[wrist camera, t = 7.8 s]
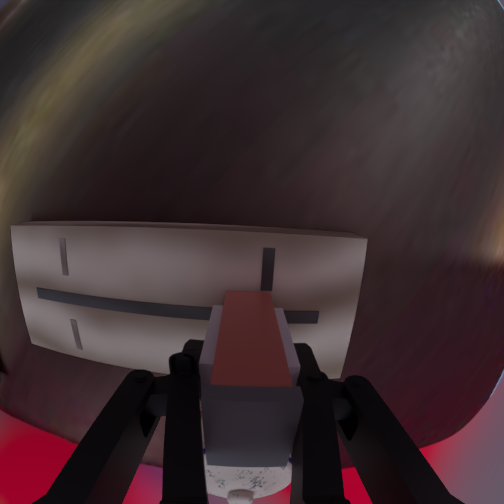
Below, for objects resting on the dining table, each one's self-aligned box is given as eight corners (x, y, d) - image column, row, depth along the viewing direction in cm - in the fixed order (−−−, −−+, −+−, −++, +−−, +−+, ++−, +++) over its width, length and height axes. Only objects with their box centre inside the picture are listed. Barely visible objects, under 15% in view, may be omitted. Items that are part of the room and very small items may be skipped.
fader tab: (223, 287, 18) (200, 398, 8) (273, 289, 19) (304, 400, 8) (222, 343, 19) (206, 465, 9) (268, 345, 20) (286, 466, 9)
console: (29, 221, 20) (10, 225, 17) (352, 232, 21) (368, 239, 18) (46, 330, 23) (31, 343, 20) (330, 359, 24) (340, 378, 21)
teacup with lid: (186, 381, 24) (161, 478, 13) (279, 370, 24) (298, 472, 13) (215, 450, 27) (209, 528, 16) (290, 442, 27) (303, 521, 15)
